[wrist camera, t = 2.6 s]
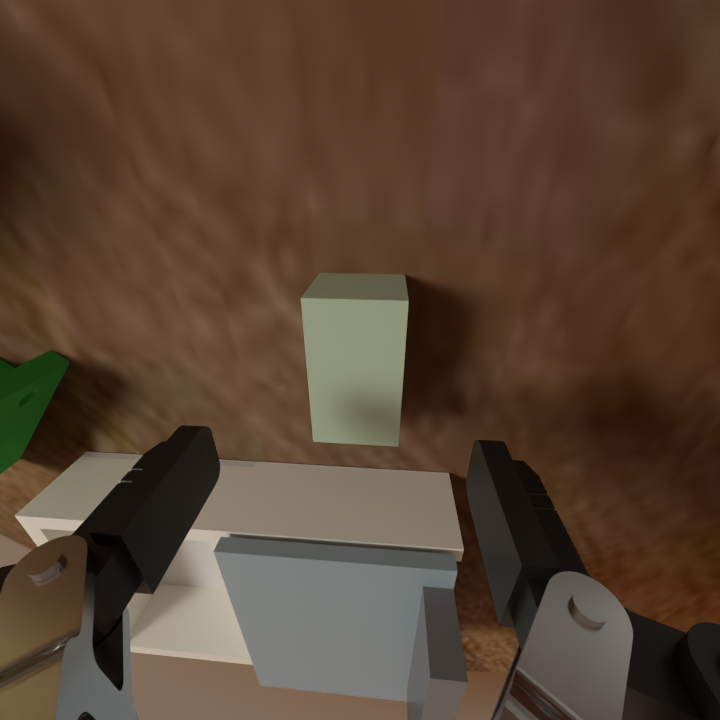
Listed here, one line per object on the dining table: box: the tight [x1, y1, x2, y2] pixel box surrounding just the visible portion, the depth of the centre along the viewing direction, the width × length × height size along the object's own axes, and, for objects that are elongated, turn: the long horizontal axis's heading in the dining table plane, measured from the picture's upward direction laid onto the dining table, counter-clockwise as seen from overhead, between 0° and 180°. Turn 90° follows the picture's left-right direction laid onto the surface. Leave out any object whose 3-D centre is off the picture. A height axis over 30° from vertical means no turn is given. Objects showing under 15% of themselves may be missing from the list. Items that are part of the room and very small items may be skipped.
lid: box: [214, 537, 468, 720], centre depth 19 cm, size 12×16×4 cm
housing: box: [15, 452, 464, 665], centre depth 24 cm, size 24×16×5 cm, turn 90°
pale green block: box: [301, 273, 409, 446], centre depth 16 cm, size 4×7×4 cm, turn 0°
